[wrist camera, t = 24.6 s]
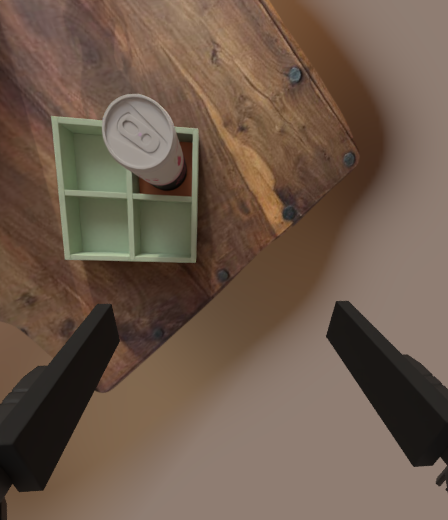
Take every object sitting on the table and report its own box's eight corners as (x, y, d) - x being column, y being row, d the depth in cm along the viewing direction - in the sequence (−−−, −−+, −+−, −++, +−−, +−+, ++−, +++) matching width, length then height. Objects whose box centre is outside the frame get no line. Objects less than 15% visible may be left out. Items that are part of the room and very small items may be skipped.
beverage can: (159, 137, 33) (124, 73, 18) (195, 164, 34) (189, 124, 20) (136, 174, 34) (85, 140, 19) (172, 199, 35) (150, 185, 20)
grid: (199, 139, 34) (198, 128, 30) (196, 258, 38) (195, 262, 34) (69, 128, 32) (50, 115, 28) (80, 255, 36) (64, 259, 32)
